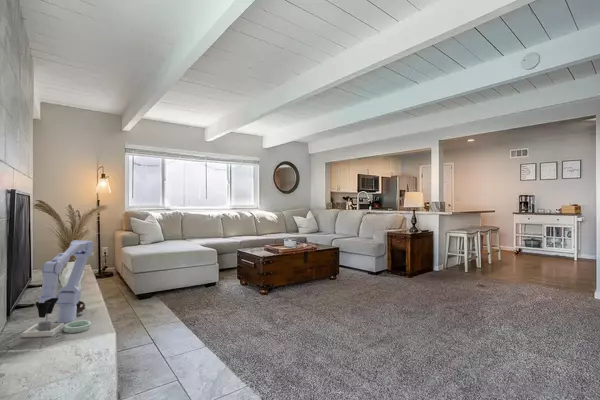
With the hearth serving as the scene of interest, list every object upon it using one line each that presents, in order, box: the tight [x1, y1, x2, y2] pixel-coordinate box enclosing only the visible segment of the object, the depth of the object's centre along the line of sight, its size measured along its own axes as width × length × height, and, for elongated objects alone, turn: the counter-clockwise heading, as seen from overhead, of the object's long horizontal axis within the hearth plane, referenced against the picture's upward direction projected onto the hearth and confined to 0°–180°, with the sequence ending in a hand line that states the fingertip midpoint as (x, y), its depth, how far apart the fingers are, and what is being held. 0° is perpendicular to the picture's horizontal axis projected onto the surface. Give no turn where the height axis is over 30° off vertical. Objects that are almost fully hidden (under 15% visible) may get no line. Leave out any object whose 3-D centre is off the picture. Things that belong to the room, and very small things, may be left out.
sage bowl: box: [63, 319, 92, 334], centre depth 159 cm, size 11×11×3 cm
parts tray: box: [21, 322, 65, 338], centre depth 153 cm, size 12×12×3 cm
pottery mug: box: [76, 300, 86, 315], centre depth 183 cm, size 12×10×8 cm
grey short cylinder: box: [38, 320, 52, 331], centre depth 153 cm, size 5×5×4 cm
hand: (45, 315), depth 153 cm, fingers open, 7 cm apart
